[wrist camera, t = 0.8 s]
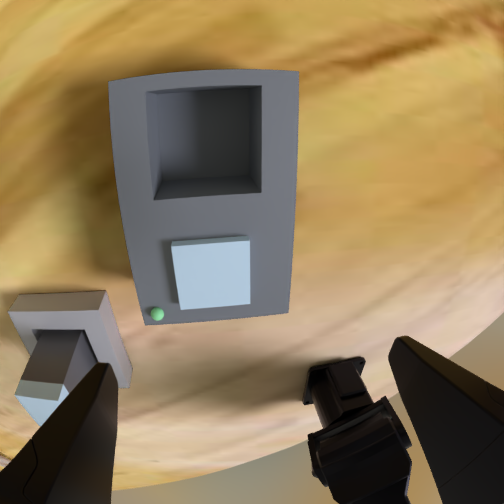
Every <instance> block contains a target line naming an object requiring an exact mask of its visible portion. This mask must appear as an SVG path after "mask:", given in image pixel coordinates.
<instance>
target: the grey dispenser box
mask: <svg viewBox="0 0 504 504" xmlns="http://www.w3.org/2000/svg"><path fill="white" fill-rule="evenodd" d="M108 88H109V111H110V126H111V138H112V149H113V159H114V168H115V176H116V184H117V191H118V198H119V205H120V211H121V218H122V223H123V229H124V235H125V240H126V245H127V250H128V255H129V260H130V265H131V270H132V274H133V279H134V283H135V287H136V292H137V296H138V300H139V304H140V308H141V312H142V316H143V319H144V323H145V325H161V324H177V323H192V322H205V321H217V320H228V319H238V318H248V317H258V316H267V315H276V314H284V313H288V311H289V299H290V286H291V272H292V257H293V241H294V224H295V204H296V182H297V154H298V113H299V71H285V70H261V69H223V70H199V71H184V72H173V73H163V74H154V75H146V76H139V77H132V78H126V79H120V80H114V81H108Z"/></svg>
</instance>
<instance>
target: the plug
mask: <svg viewBox="0 0 504 504" xmlns="http://www.w3.org/2000/svg"><path fill="white" fill-rule="evenodd" d="M96 363H98V359H97V357H96V355H95V352H94V350H93V348H92V346H91V343H90V341H89V339H88V336H87V334H86V331H85V329H44V330H43V332H42V334H41V336H40V338H39V340H38V342H37V344H36V346H35V348H34V350H33V352H32V354H31V357H30V359H29V361H28V363H27V366H26V368H25V370H24V372H23V375H22V377H21V380H20V382H19V384H18V387H17V389H16V392H15V396H16V398H17V399H18V400H19V402H20V403H21V404H22V406H23V407H24V408H25V409H26V411H27V412H28V413H29V414H30V415H31V417H32V418H33V419H34V420H35V421H36V423H37V424H38V425H39V426H42V424H43V423H44V422H45V421H46V420H47V419H48V417H49V416H50V415H51V414H52V413H53V412H54V410H55V409H56V408H57V407H58V406H59V405H60V403H61V402H62V401H63V400H64V399H65V398H66V397H67V395H68V394H69V393H70V392H71V391H72V390H73V389H74V387H75V386H76V385H77V384H78V383H79V382H80V381H81V380H82V378H83V377H84V376H85V375H86V374H87V373H88V372H89V371H90V369H91V368H92V367H93V366H94V365H95V364H96Z"/></svg>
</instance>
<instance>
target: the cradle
mask: <svg viewBox="0 0 504 504" xmlns="http://www.w3.org/2000/svg"><path fill="white" fill-rule="evenodd" d="M8 313H9V315H10V318H11V320H12V322H13V324H14V326H15V328H16V330H17V332H18V334H19V336H20V338H21V339H22V341H23V343H24V345H25V347H26V349H27V350H28V352H29V354H30V356H31V354H32V352H33V350H34V348H35V346H36V344H37V342H38V340H39V338H40V336H41V334H42V332H43V330H44V329H85V331H86V334H87V336H88V339H89V341H90V343H91V346H92V348H93V350H94V352H95V355H96V357H97V359H98V362H105V363H110V364H111V366H112V368H113V371H114V373H115V376H116V378H117V381H118V388H130V382H131V375H132V369H133V368H132V365H131V363H130V360H129V358H128V355H127V352H126V350H125V347H124V344H123V341H122V338H121V336H120V333H119V330H118V327H117V324H116V321H115V318H114V315H113V311H112V308H111V305H110V302H109V298H108V295H107V292H106V291H91V292H71V293H48V294H21V295H19V296H18V297H17V299H16V300H15V301H14V303H13V304H12V306H11V307H10V309H9V310H8Z"/></svg>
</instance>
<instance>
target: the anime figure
mask: <svg viewBox="0 0 504 504" xmlns="http://www.w3.org/2000/svg"><path fill="white" fill-rule="evenodd" d="M10 462H11V460H9V459H7V458H6V457H4V456H2V455H1V454H0V466H3V467H6V466H7V465H8V464H9V463H10Z"/></svg>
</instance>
